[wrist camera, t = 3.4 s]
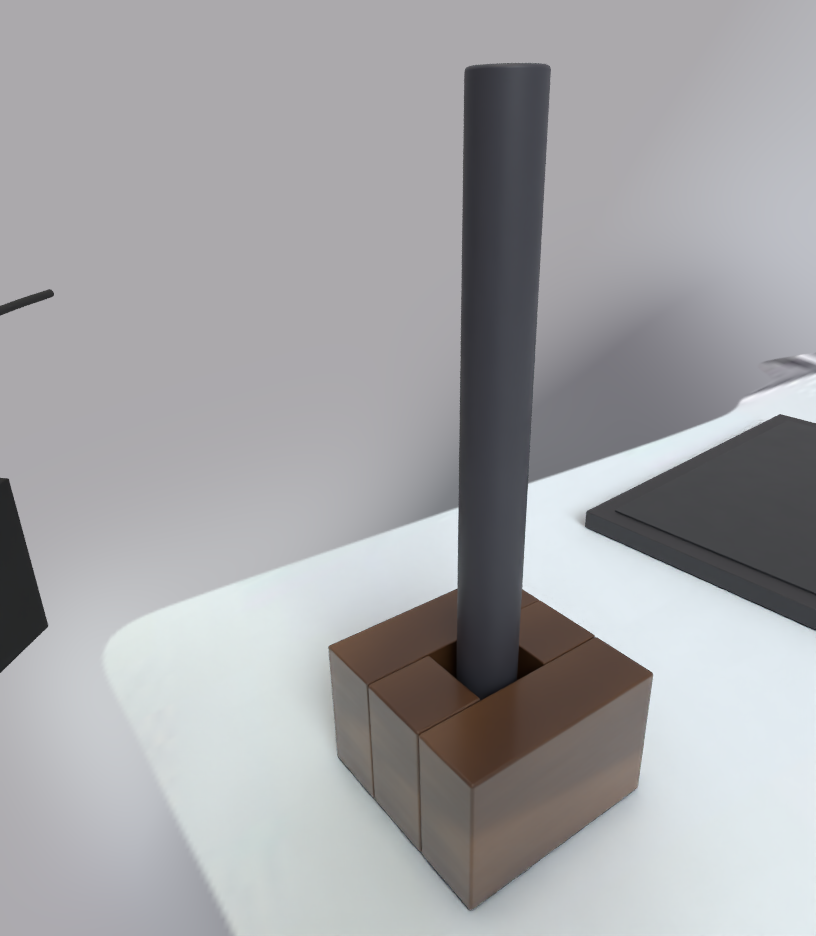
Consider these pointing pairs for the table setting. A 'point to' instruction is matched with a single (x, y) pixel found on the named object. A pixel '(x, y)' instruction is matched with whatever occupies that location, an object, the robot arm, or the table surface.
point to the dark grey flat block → (733, 517)
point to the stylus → (497, 358)
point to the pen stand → (488, 739)
